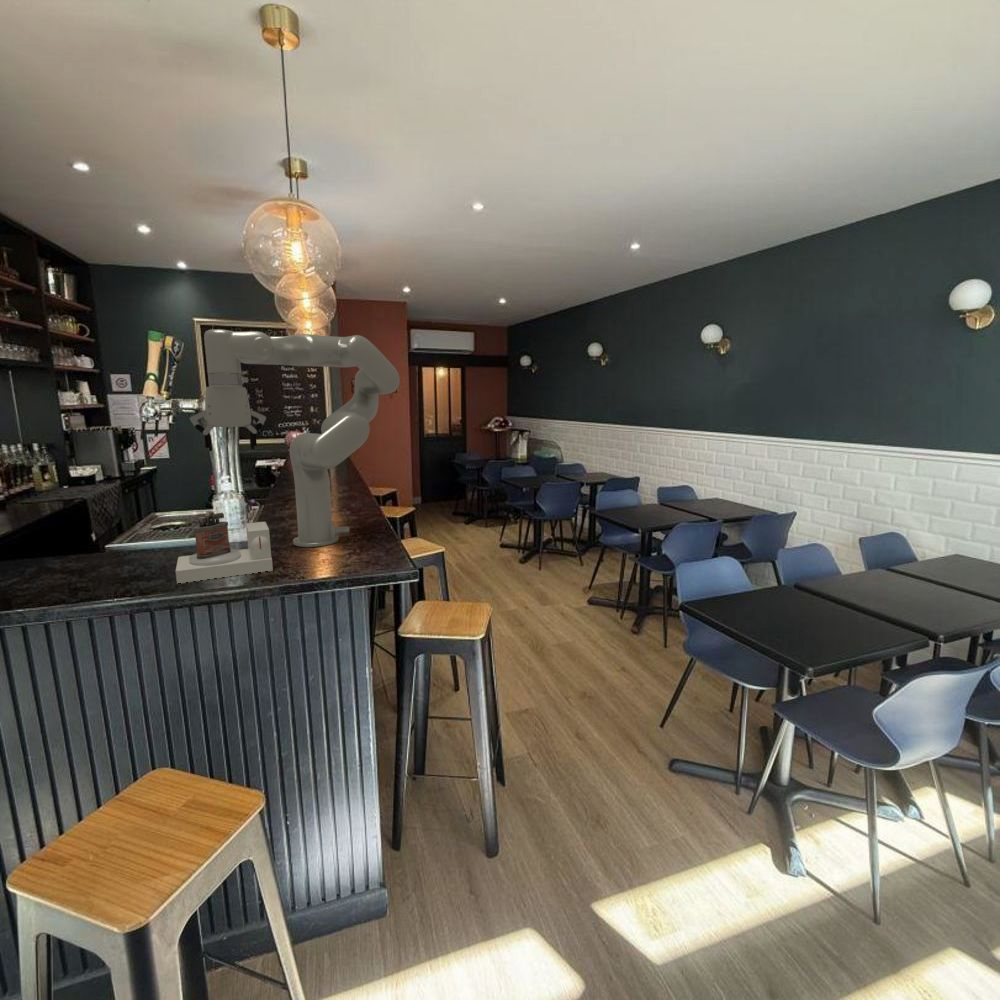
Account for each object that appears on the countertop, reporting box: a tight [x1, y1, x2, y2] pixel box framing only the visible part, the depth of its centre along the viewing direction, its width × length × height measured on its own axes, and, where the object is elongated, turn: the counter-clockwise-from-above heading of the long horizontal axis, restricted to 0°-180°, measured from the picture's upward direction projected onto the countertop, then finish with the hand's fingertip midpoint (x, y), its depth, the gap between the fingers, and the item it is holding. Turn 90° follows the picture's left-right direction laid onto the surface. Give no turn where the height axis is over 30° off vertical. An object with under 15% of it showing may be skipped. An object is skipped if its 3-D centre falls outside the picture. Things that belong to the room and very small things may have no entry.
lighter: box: [193, 512, 232, 559], centre depth 128 cm, size 8×3×10 cm, turn 151°
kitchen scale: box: [175, 521, 274, 585], centre depth 130 cm, size 20×13×10 cm, turn 118°
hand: (231, 449), depth 137 cm, fingers open, 9 cm apart
